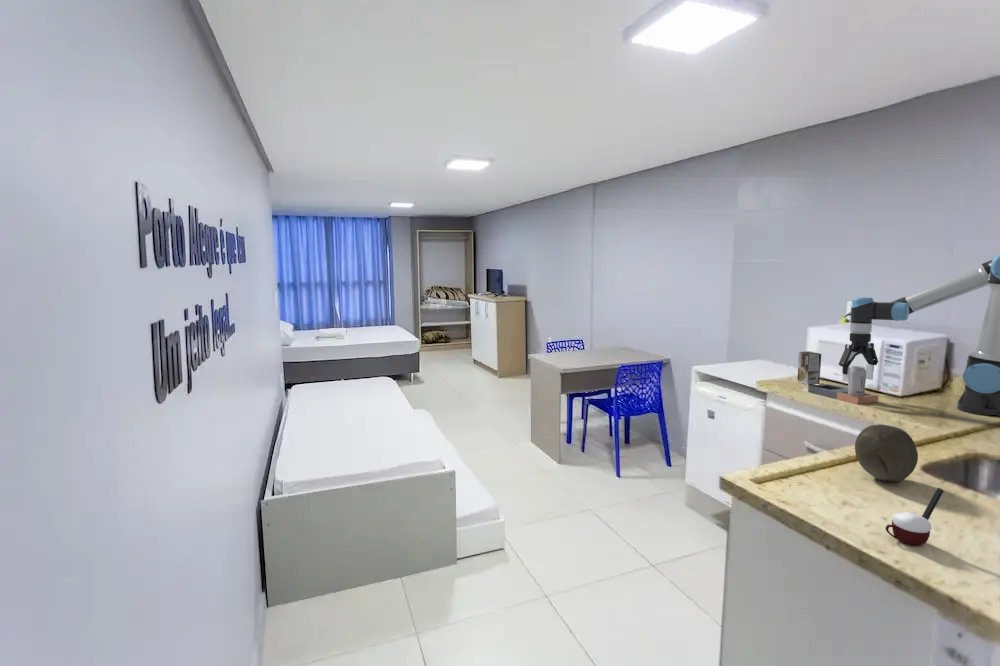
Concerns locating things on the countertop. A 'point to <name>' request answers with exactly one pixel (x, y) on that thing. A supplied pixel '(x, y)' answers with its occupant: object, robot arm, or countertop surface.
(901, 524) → the cocoa
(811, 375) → the coffee box
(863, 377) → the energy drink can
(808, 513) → the countertop surface
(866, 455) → the dark grey rounded lump
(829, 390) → the shallow tray
